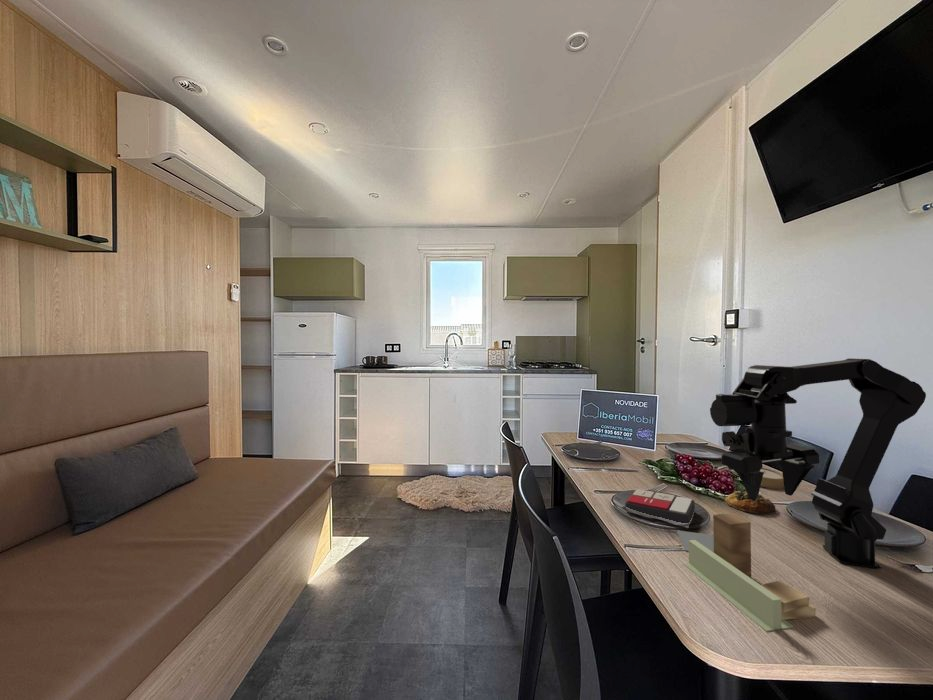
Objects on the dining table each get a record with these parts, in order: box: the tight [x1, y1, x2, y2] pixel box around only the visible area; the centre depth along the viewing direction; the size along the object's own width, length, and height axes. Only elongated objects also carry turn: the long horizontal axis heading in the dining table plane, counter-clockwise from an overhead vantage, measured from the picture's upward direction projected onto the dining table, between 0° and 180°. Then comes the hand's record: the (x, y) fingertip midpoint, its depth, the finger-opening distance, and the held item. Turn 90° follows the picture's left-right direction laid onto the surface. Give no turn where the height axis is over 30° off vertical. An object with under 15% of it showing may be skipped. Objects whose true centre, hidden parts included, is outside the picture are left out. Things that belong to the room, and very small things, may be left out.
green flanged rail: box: [683, 540, 794, 632], centre depth 67 cm, size 5×18×5 cm, turn 8°
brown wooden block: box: [712, 512, 752, 578], centre depth 72 cm, size 4×4×11 cm
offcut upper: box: [760, 580, 810, 612], centre depth 62 cm, size 6×4×2 cm
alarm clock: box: [726, 467, 784, 489], centre depth 119 cm, size 11×5×15 cm
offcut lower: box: [781, 603, 817, 621], centre depth 63 cm, size 7×5×2 cm
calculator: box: [624, 488, 696, 523], centre depth 99 cm, size 11×4×15 cm
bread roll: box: [724, 490, 776, 515], centre depth 102 cm, size 11×11×5 cm
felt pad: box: [676, 529, 714, 553], centre depth 83 cm, size 10×9×1 cm
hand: (771, 497), depth 77 cm, fingers open, 9 cm apart
